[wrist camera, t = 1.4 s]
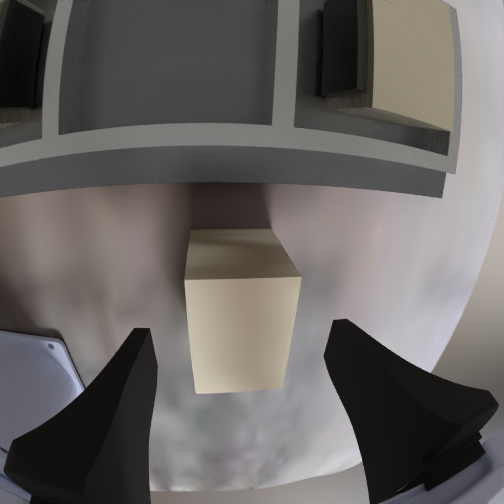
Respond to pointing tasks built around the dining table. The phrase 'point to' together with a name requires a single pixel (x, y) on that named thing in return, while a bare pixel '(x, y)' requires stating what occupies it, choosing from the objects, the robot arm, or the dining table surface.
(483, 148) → the dining table surface
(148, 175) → the rail
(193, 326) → the birch block
